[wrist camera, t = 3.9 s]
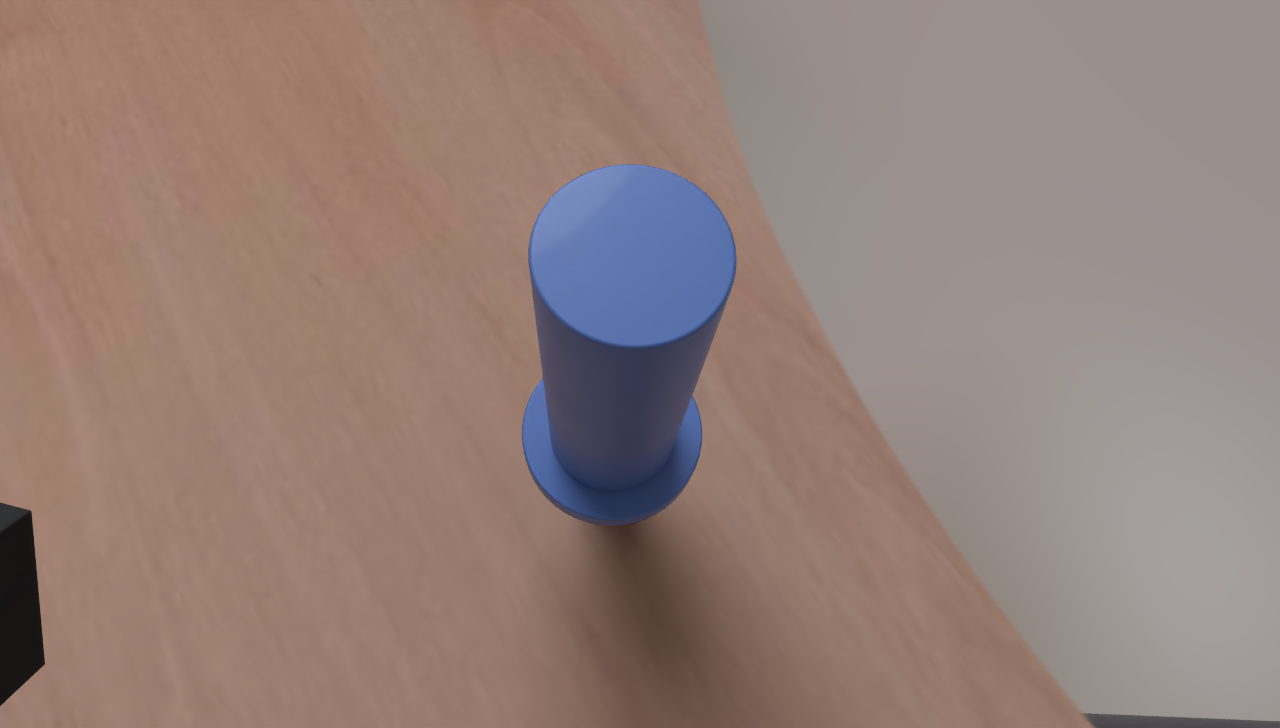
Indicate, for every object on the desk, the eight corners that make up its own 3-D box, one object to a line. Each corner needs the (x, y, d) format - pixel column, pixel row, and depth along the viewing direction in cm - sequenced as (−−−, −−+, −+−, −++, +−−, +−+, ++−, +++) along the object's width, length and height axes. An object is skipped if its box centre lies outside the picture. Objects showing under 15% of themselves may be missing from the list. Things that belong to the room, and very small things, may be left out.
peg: (708, 469, 35) (840, 235, 17) (618, 585, 33) (661, 459, 15) (595, 383, 36) (609, 77, 18) (502, 491, 34) (415, 269, 16)
